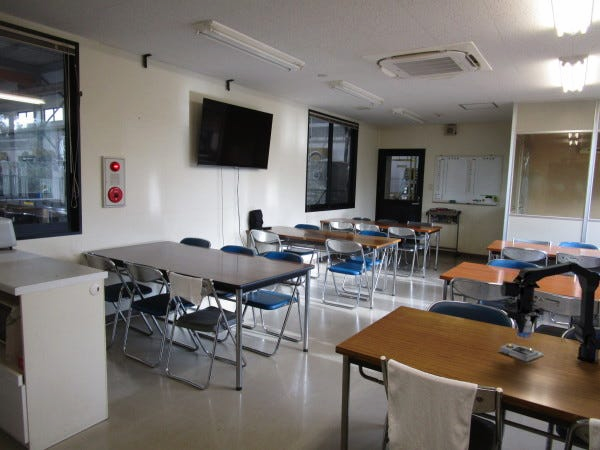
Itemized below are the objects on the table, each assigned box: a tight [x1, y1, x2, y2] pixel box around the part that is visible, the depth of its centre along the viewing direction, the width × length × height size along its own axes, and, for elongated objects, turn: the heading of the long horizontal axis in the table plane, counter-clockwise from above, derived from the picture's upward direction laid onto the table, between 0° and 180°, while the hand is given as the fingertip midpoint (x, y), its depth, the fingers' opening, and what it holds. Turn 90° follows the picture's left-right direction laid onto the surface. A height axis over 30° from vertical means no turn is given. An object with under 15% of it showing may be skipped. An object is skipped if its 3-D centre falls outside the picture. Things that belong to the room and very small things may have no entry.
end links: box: [499, 342, 544, 362], centre depth 190 cm, size 12×13×3 cm
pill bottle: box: [516, 315, 533, 340], centre depth 186 cm, size 6×5×10 cm
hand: (524, 331), depth 186 cm, fingers closed on pill bottle, 5 cm apart
